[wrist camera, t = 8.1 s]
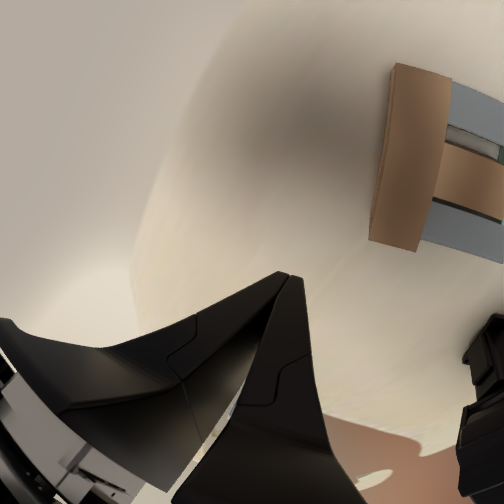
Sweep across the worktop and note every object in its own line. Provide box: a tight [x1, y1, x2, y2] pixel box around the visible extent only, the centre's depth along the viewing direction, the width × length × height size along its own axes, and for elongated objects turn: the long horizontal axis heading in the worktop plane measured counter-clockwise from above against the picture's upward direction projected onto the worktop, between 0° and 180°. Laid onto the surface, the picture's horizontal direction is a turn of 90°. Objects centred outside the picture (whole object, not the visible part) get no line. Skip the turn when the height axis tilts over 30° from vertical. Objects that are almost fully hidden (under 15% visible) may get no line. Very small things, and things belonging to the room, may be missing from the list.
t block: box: [368, 63, 504, 252], centre depth 13 cm, size 8×10×4 cm
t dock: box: [420, 81, 504, 264], centre depth 12 cm, size 7×10×3 cm
